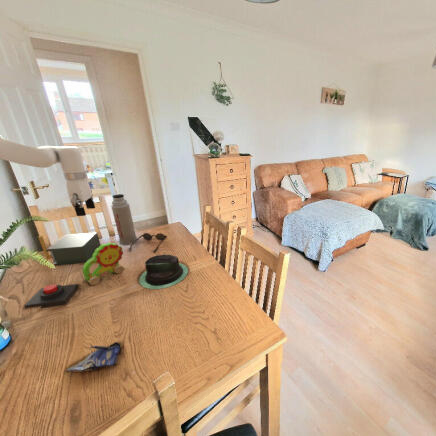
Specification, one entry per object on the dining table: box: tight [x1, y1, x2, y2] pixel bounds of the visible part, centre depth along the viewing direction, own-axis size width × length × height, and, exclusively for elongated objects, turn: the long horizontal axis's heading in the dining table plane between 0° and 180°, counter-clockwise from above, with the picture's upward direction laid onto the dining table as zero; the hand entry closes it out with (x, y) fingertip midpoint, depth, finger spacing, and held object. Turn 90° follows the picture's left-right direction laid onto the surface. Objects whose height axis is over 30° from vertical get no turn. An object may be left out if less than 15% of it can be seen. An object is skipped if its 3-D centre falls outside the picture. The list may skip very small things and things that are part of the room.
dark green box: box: [46, 231, 102, 267], centre depth 120 cm, size 14×16×9 cm
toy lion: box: [82, 242, 124, 286], centre depth 105 cm, size 16×5×15 cm, turn 155°
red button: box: [43, 284, 58, 294], centre depth 92 cm, size 4×4×2 cm
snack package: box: [66, 342, 122, 373], centre depth 70 cm, size 12×6×12 cm
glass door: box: [37, 235, 56, 263], centre depth 113 cm, size 3×7×14 cm, turn 17°
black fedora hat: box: [138, 253, 189, 290], centre depth 110 cm, size 15×19×20 cm
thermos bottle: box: [111, 193, 138, 246], centre depth 132 cm, size 8×8×28 cm
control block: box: [23, 283, 80, 309], centre depth 93 cm, size 12×10×4 cm
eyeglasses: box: [129, 232, 168, 253], centre depth 133 cm, size 15×15×5 cm
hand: (86, 211), depth 112 cm, fingers open, 9 cm apart
